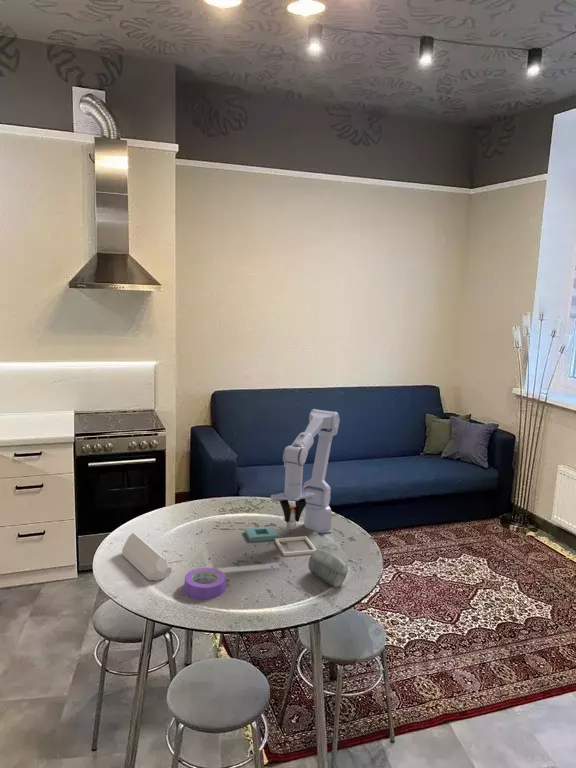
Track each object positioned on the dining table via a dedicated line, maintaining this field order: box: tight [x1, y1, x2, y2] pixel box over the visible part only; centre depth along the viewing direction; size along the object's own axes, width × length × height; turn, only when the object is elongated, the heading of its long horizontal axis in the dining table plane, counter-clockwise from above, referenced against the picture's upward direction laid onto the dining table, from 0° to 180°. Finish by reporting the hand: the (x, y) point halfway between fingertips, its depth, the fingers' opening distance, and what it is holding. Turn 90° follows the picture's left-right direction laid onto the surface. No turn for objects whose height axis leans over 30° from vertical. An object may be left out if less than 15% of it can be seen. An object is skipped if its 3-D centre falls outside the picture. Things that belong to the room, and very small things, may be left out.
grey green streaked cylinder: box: [308, 548, 348, 587], centre depth 177 cm, size 14×10×10 cm
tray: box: [274, 535, 318, 557], centre depth 195 cm, size 11×11×2 cm
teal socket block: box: [244, 525, 280, 543], centre depth 203 cm, size 10×8×3 cm
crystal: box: [121, 532, 172, 581], centre depth 181 cm, size 7×7×24 cm
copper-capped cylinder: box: [286, 505, 297, 530], centre depth 195 cm, size 3×3×7 cm
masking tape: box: [183, 567, 226, 600], centre depth 169 cm, size 12×12×4 cm
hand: (291, 520), depth 195 cm, fingers closed on copper-capped cylinder, 3 cm apart
